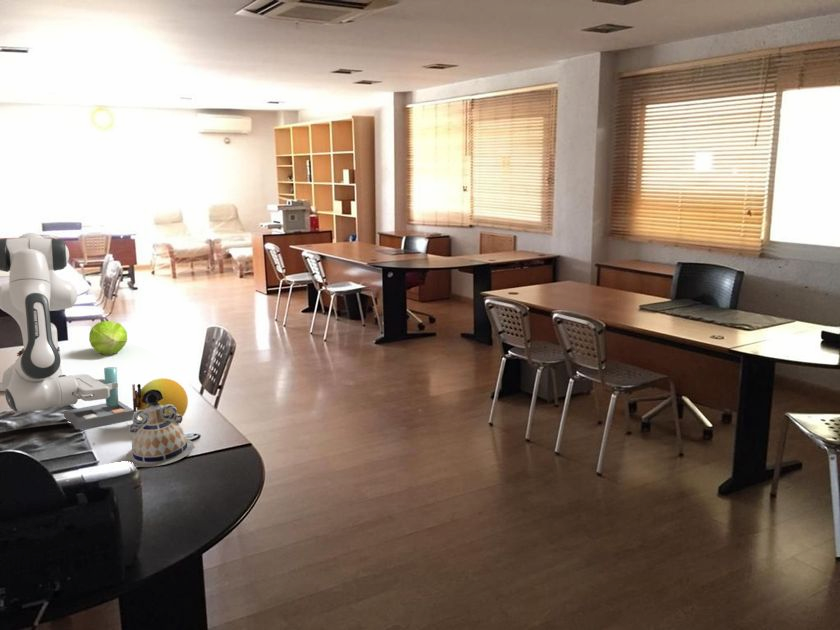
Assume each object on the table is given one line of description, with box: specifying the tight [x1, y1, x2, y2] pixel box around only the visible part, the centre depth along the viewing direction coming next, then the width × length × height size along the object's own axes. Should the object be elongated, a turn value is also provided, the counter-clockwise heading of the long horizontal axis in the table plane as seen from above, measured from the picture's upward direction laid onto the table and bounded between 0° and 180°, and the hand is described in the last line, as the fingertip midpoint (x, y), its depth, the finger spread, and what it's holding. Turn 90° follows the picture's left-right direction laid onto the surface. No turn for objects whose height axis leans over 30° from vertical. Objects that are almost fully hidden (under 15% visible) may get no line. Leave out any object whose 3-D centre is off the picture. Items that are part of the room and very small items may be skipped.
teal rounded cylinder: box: [103, 366, 119, 406], centre depth 216 cm, size 4×4×12 cm
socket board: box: [63, 400, 135, 431], centre depth 215 cm, size 13×17×3 cm
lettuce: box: [88, 320, 128, 356], centre depth 301 cm, size 15×23×16 cm
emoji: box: [131, 377, 189, 420], centre depth 210 cm, size 16×16×15 cm
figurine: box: [124, 389, 195, 468], centre depth 187 cm, size 18×18×20 cm
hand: (114, 383), depth 217 cm, fingers closed on teal rounded cylinder, 4 cm apart
